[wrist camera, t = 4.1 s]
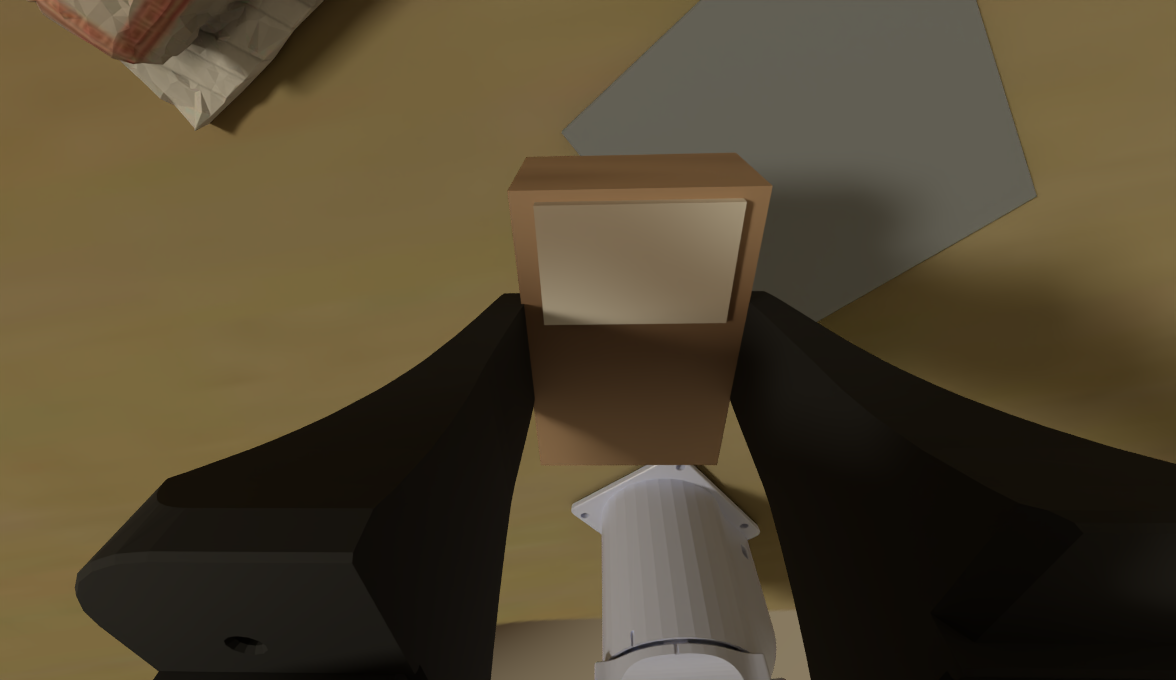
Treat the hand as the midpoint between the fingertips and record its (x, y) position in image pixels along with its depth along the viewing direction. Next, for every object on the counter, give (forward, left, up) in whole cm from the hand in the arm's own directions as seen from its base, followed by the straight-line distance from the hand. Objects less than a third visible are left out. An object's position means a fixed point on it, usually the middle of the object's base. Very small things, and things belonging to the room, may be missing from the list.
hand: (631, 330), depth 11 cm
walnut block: (0, 0, -2) cm, 2 cm away
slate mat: (-3, -6, -9) cm, 11 cm away
